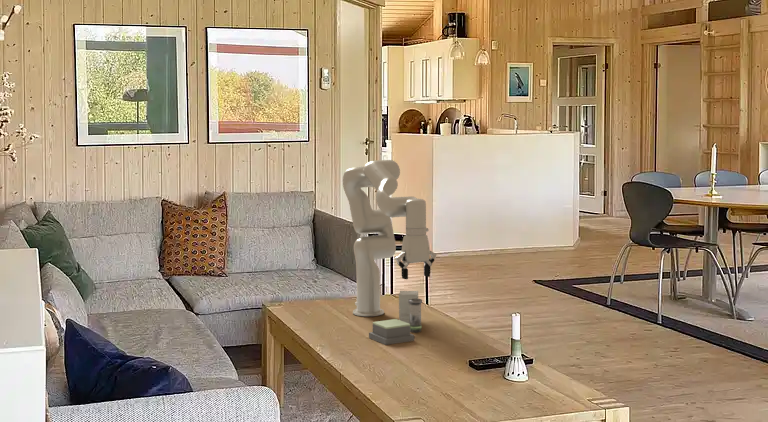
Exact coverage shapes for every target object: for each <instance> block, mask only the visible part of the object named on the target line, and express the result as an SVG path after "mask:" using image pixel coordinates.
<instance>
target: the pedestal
mask: <svg viewBox="0 0 768 422" xmlns="http://www.w3.org/2000/svg"><path fill="white" fill-rule="evenodd" d="M368 339H370V340H373V341H375V342H378V343H380V344H382V345H383V346H384V345H385V346H387V345H394V344H400V343H406V342H414V341H415V334H412V333H411V332H410V324H409V323H406V322H403V321H400V320H399V318H398V319H397V318H392V319H386V320H380V321H379V320H377V321H372V331H370V332H368Z"/></svg>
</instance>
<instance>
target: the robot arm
mask: <svg viewBox="0 0 768 422" xmlns="http://www.w3.org/2000/svg"><path fill="white" fill-rule="evenodd" d="M400 174H401V170H400V166H399V164H398V163H397V161H395V160H392V159H379V160H371V161H368V162H367V163H365V165H364V166H354V167H351V168H348V169H346V170H345V171H344V173H343V176H342V187H343V190H344V193H345V196H346V198H347V201H348V204H349V205H348V206H349V210H350V214H351V215H350V216H351V221H352V225H353V229H354V232H355V233H356V234H360V235H364V234H365V235H367V234H368V236H362V237H359V238H356V240H355V241H354V243H353V253H354V254H353V255H354V258H355V259H354V260H355V270H356V271H355V272H356V273H355V274H356V275H355V276H356V301H355V302H354V304H355V306H356V308H355V309H353V310H352V314H353V315H354V316H358V317H378V316H382V315H384V313H385V311H384V310H385V309H382V308H381V271H380V268H379V266H378V264H377V263H376V262H375V260H380V259H381V260H382V259H383V260H385V259H389V258H392V257H393V256H394V255H395V254H396V251H397V250H396V249H397V246H396V245H397V243H396V238H395V234H394V229H393V228H394V227H393V223H392V219H391V218H403V217H404V218H405V235H403V238H402V243H401V244H402V245H401V253H399V254H397V256H396V257H394V259H395V261H396V263H397V265H398V267H400V268H401V278H402V279H404V280H409V269H408V267H409V265H410V264H416V263H418V264H419V263H424V266H423V276H424V277H428V278H430V277H431V267H432V265H433V263H434V262H435V260H436V258H437V257H436V256H437V253H435V252H434V251H432V250H430V243H429V237H428V234H427V232H429V230H430V229H429V228H428V227H427V203H426V200H425V199H423V198H417V197H415V196H394V197H393V196H392V197H391V195H393V194H394V193H395V192H396V191H397V189H398V186H399V185H398V179H399V177H400ZM362 188H374V189H375V190H376V194H375V201H376V203H377V207H378V209H372V206H371V200H370V198H369V196H368V195H367V193H366V192H365V191H364V190H363V189H362ZM369 234H378V235H369Z"/></svg>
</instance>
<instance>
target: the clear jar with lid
mask: <svg viewBox="0 0 768 422" xmlns="http://www.w3.org/2000/svg"><path fill="white" fill-rule="evenodd" d="M408 303H409V324H410V333H421V332H422V328H423V326H422V304H423V299H422V298H418V299H416V298H414V299H409V300H408Z"/></svg>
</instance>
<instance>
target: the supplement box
mask: <svg viewBox="0 0 768 422" xmlns="http://www.w3.org/2000/svg"><path fill="white" fill-rule="evenodd" d="M414 298H416V299H419V290H399V293H398V320H400V321H403V322H406V323H409V303H408V300H409V299H414Z"/></svg>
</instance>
